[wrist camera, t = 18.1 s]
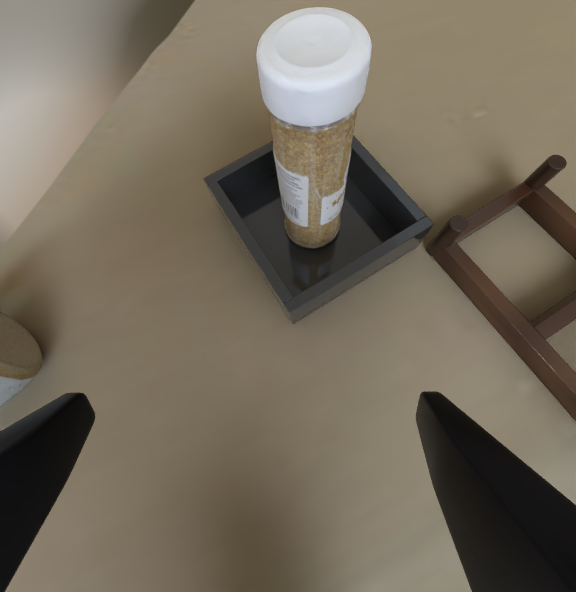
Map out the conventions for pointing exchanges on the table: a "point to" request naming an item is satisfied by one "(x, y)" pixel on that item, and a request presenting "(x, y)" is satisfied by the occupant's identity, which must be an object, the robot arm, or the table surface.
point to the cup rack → (489, 299)
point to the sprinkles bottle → (313, 113)
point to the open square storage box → (333, 256)
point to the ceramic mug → (16, 358)
